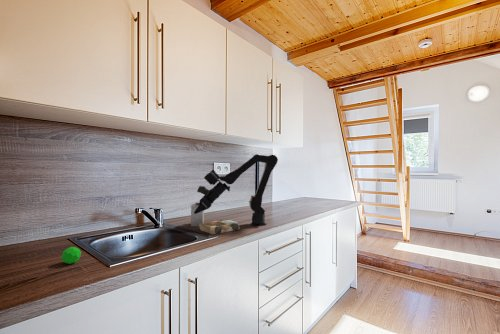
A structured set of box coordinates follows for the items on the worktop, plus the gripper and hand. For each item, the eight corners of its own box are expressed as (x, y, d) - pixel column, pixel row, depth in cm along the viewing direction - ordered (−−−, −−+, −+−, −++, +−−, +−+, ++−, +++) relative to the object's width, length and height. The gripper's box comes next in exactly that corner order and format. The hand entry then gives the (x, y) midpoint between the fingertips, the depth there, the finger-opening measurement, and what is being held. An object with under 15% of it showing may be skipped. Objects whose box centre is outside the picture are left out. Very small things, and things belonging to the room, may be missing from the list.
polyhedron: (80, 263, 78) (81, 248, 78) (61, 267, 75) (61, 251, 75) (80, 259, 82) (80, 244, 82) (61, 262, 79) (62, 247, 79)
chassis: (226, 225, 134) (226, 219, 134) (240, 229, 124) (240, 223, 124) (198, 229, 123) (198, 223, 123) (212, 234, 113) (212, 227, 113)
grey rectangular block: (203, 223, 137) (203, 202, 137) (202, 226, 131) (202, 203, 131) (192, 224, 136) (192, 202, 136) (190, 226, 130) (191, 203, 130)
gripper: (207, 180, 143) (187, 199, 142) (204, 181, 125) (181, 203, 124) (221, 193, 144) (201, 212, 143) (220, 197, 125) (197, 219, 124)
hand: (195, 211), depth 133 cm, fingers open, 9 cm apart
